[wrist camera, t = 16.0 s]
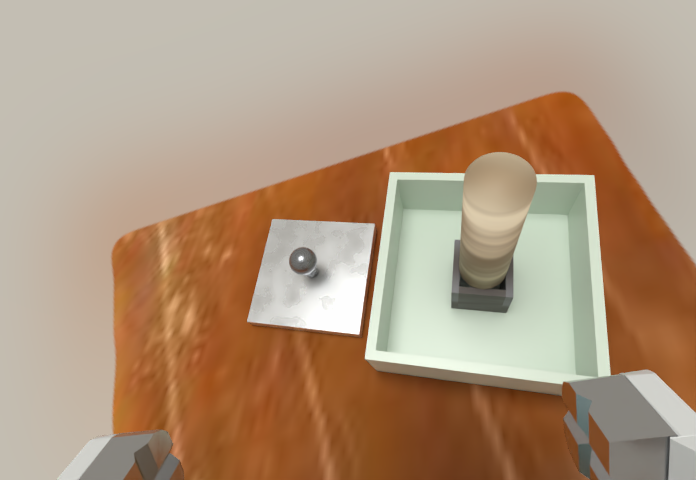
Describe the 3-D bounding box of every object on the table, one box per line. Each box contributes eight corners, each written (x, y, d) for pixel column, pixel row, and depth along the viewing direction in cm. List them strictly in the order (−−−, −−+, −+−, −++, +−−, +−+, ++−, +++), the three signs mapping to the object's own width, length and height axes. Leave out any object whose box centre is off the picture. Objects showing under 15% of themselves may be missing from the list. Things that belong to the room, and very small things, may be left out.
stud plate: (361, 337, 43) (349, 323, 38) (252, 325, 46) (227, 310, 41) (376, 229, 47) (367, 203, 42) (277, 224, 51) (256, 199, 45)
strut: (506, 313, 40) (547, 221, 23) (451, 308, 41) (452, 217, 24) (506, 263, 42) (545, 145, 25) (454, 260, 43) (457, 145, 26)
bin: (584, 398, 37) (611, 390, 30) (377, 371, 41) (364, 359, 35) (573, 212, 44) (594, 175, 37) (397, 206, 48) (390, 172, 42)
